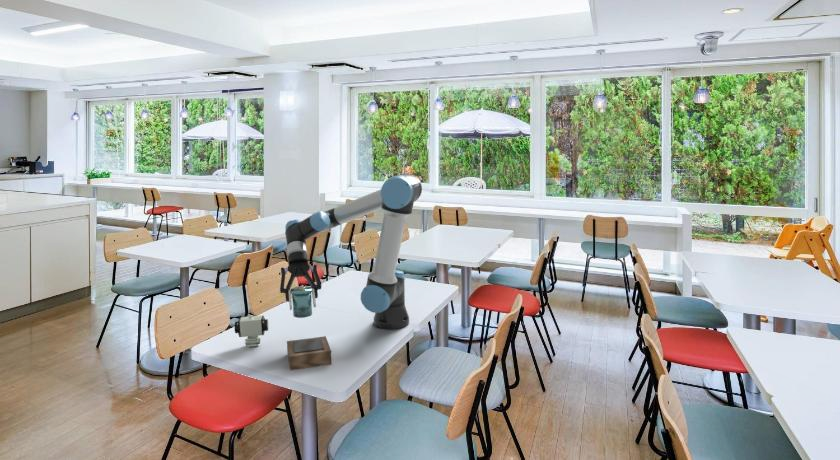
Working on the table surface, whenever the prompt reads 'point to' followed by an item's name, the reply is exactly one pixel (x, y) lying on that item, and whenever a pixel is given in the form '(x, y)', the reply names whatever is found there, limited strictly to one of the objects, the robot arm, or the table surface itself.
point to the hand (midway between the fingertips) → (302, 306)
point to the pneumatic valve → (251, 329)
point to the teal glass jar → (302, 301)
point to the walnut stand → (309, 353)
